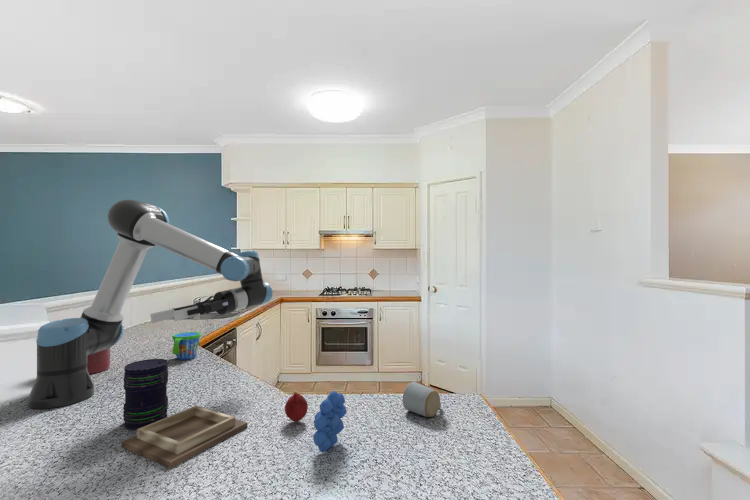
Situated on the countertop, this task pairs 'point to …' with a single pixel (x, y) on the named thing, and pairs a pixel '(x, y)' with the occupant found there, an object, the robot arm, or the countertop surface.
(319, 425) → the grapes
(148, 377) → the dark blue barrel
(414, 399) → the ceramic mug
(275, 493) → the countertop surface
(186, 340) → the snack cup
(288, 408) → the onion
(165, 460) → the base board
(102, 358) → the canister
